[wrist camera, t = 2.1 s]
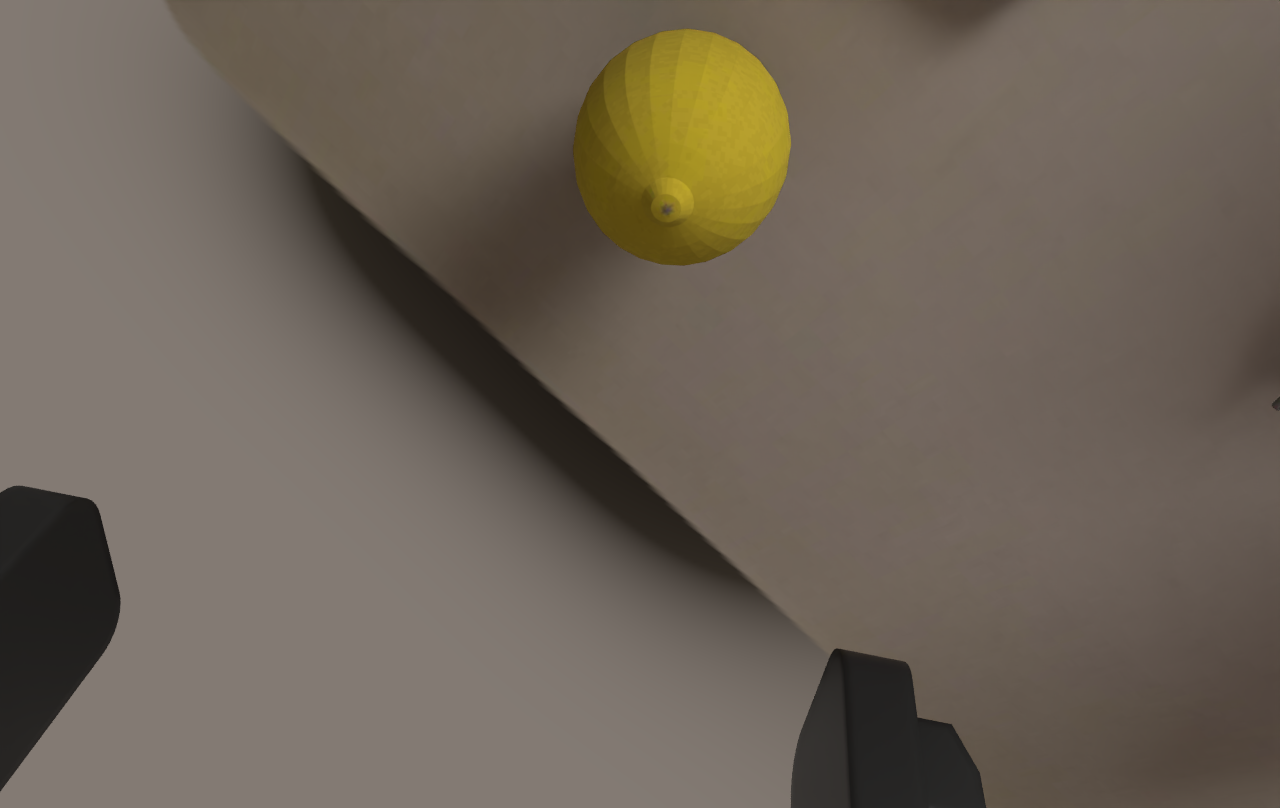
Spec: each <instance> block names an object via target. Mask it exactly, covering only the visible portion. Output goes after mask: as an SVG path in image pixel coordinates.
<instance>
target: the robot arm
mask: <svg viewBox="0 0 1280 808" xmlns="http://www.w3.org/2000/svg"><path fill="white" fill-rule="evenodd" d="M119 613H120V594H119V589H118V585H117V581H116V577H115V573H114V569H113V564H112V561H111V556H110V552H109V548H108V544H107V541H106V537H105V533H104V528H103V524H102V520H101V516H100V513H99V510H98V508H97V506H96V504H94V502H92V501H91V500H89V499H86V498H81V497H76V496H71V495H66V494H61V493H55V492H51V491H45V490H41V489H35V488H30V487H25V486H13V487H10V488H8V489H6V490H4V491H3V492H1V493H0V791H1V790H2V788H3V787H4V786H5V784H6V783H7V782H8V780H9V779H10V778H11V776H12V775H13V774H14V772H15V771H16V770H17V768H18V767H19V766H20V764H21V763H22V762H23V760H24V759H25V757H26V756H27V755H28V754H29V752H30V751H31V750H32V748H33V747H34V745H35V744H36V743H37V742H38V740H39V739H40V738H41V736H42V735H43V733H44V732H45V731H46V729H47V728H48V727H49V725H50V724H51V723H52V721H53V720H54V719H55V717H56V716H57V715H58V713H59V712H60V710H61V709H62V708H63V707H64V705H65V704H66V703H67V701H68V700H69V699H70V697H71V696H72V694H73V693H74V692H75V691H76V689H77V688H78V686H79V685H80V684H81V682H82V681H83V680H84V678H85V677H86V676H87V674H88V673H89V672H90V670H91V669H92V668H93V666H94V665H95V664H96V662H97V661H98V660H99V658H100V657H101V656H102V654H103V653H104V651H105V650H106V648H107V646H108V644H109V643H110V641H111V638H112V636H113V634H114V632H115V628H116V625H117V622H118V618H119ZM791 808H986V805H985V799H984V793H983V788H982V782H981V777H980V772H979V771H978V769H977V767H976V765H975V764H974V762H973V760H972V759H971V757H970V755H969V753H968V752H967V750H966V748H965V747H964V745H963V743H962V741H961V740H960V738H959V736H958V734H957V733H956V731H955V729H954V728H953V726H952V724H947V723H942V722H937V721H932V720H927V719H922V718H917V711H916V703H915V696H914V688H913V680H912V674H911V670H910V668H909V666H908V664H907V663H906V662H904V661H899V660H894V659H889V658H884V657H878V656H873V655H868V654H863V653H858V652H853V651H848V650H843V649H838V648H837V649H835V650H834V651H833V652H832V654H831V656H830V658H829V661H828V663H827V666H826V668H825V671H824V673H823V676H822V679H821V681H820V684H819V686H818V689H817V691H816V694H815V696H814V699H813V702H812V704H811V707H810V709H809V712H808V715H807V717H806V720H805V722H804V725H803V728H802V730H801V733H800V736H799V740H798V743H797V748H796V753H795V758H794V765H793V773H792V785H791Z"/></svg>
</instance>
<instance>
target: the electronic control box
mask: <svg viewBox="0 0 1280 808" xmlns="http://www.w3.org/2000/svg"><path fill="white" fill-rule="evenodd" d="M1272 407H1273V408H1274V409H1276V410H1278V411H1279V410H1280V397H1278V398H1277V399H1276V400H1275V401H1274V402H1273V403H1272Z"/></svg>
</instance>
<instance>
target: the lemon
mask: <svg viewBox="0 0 1280 808" xmlns="http://www.w3.org/2000/svg"><path fill="white" fill-rule="evenodd" d="M790 147H791V138H790V130H789V122H788V114H787V110H786V107H785V105H784V102H783V100H782V97H781V94H780V92H779V89H778V87H777V84H776V83H775V81H774V80H773V78H772V77H771V76H770V74H769V73H768V72H767V70H766V69H765V68H764V66H763V65H762V63H761V62H760V61H759V60H758V59H757V58H756V57H755V56H753V55H752V54H751V53H750V52H748V51H747V50H746V49H745V48H743V47H742V46H741V45H740V44H738V43H736V42H734V41H732V40H729V39H727V38H725V37H722V36H720V35H718V34H716V33H712V32H706V31H700V30H693V29H680V30H671V31H662V32H659V33H657V34H654V35H652V36H649V37H646V38H644V39H641V40H639V41H636V42H634V43H633V44H632V45H630V46H629V47H627V48H626V49H625V50H623V51H622V52H621V53H619V54H618V55H617V56H615V57H614V58H613V59H611V60H610V61H609V63H608V64H607V65H606V66H605V68H604V69H603V70H602V71H601V73H600V74H599V75H598V77H597V78H596V79H595V80H594V82H593V83H592V85H591V86H590V88H589V91H588V93H587V95H586V98H585V100H584V102H583V105H582V107H581V109H580V112H579V115H578V119H577V125H576V132H575V139H574V145H573V155H574V164H575V172H576V180H577V185H578V188H579V190H580V193H581V195H582V198H583V201H584V203H585V206H586V208H587V211H588V212H589V213H590V215H591V216H592V218H593V219H594V221H595V222H596V224H597V225H598V227H599V228H600V229H601V231H602V232H603V233H604V234H605V235H606V236H608V237H609V238H610V239H611V240H612V241H613V242H614V243H615V244H616V245H618V246H619V247H620V248H622V249H624V250H625V251H627V252H629V253H631V254H633V255H635V256H637V257H638V258H641V259H644V260H648V261H651V262H655V263H658V264H663V265H683V266H684V265H690V264H695V263H701V262H706V261H709V260H711V259H713V258H716V257H718V256H720V255H722V254H725V253H727V252H729V251H731V250H732V249H734V248H735V247H736V246H738V245H739V244H740V243H742V242H743V241H744V240H745V239H747V238H748V237H749V236H750V235H752V234H753V233H754V231H755V230H756V229H757V228H758V226H759V225H760V224H761V222H762V221H763V220H764V218H765V217H766V216H767V215H768V213H769V212H770V211H771V209H772V208H773V206H774V204H775V202H776V199H777V197H778V195H779V192H780V190H781V188H782V185H783V183H784V181H785V178H786V174H787V167H788V161H789V154H790Z"/></svg>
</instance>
